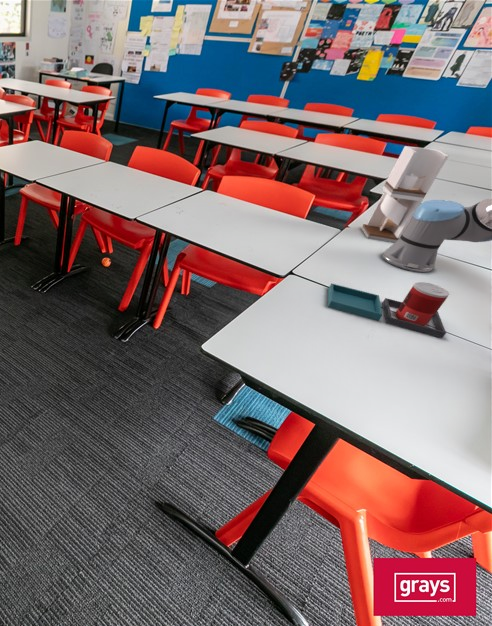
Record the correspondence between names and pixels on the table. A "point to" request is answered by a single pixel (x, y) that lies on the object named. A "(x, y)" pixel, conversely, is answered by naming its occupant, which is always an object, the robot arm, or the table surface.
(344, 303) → the tray
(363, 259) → the table surface
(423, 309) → the canned food
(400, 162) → the white tiered tower
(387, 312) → the tray
